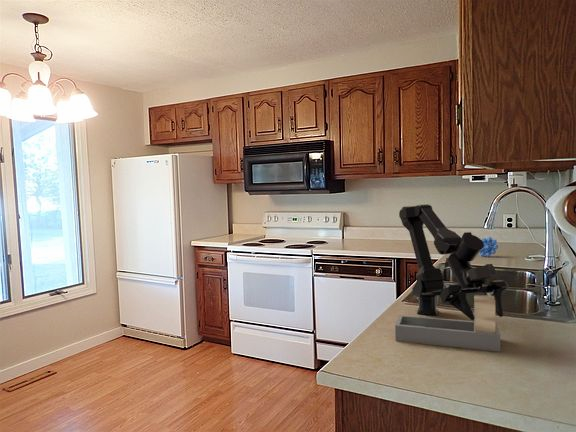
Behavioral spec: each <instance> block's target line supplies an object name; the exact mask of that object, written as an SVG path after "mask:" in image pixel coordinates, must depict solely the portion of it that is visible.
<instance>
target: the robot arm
mask: <svg viewBox="0 0 576 432" xmlns="http://www.w3.org/2000/svg"><path fill="white" fill-rule="evenodd" d="M398 213H399V214H398V215H399V219H400V221H401V224H402V226H403V227H405V229H406V230H407V231H408V232H409V236H410V240H411V243H412V248H413V251H414V256H415V259H416V264H417V267H418V271H417V273H416V276H415V277H416V278H415V279H416V282H415V283H414V285H413V286H412V288H411V289H412V290H411V291H412V295H414V296H415V297H418V307H417V311H416V314H418V315H426V316H427V315H430V316H438V310H439V309H438V308H437V296H439V298H440V300H441V302H442V303H444V304H445V303H448V305H451V306H453V307H454V308H455V309H457V310H458V311H460V312H461V313H463V314H464V315H465V316H466V317H467V318H468V319H470V321H474V319H475V317H474V311H473V310H472V308H471V306H470V305H469V303H468V301H467V300H468V299H467V296H468V295H469V296H470V295H482V294H484V295H488V296H494V298H495V314H497V315H498V317H499V318H502V317H503V316H504V313H503V312H504V311H503V306H502V305H503V304H502V295H503V294H504V293H505V292H506V291H507V290H508V289H509V285H508V283H507V282H506V281H505V280H502V279H500V280H499V279H496V280H491V281H490V282H489V283H488V284H487V285H485V284H486V282H487V281H486V280H487V279H492V278H493V276H495V275H496V274H497V270H496V268H495V266H494V265H493V263H486V264H484V265H483V266H477V267H473V266H472V264H471V262H473V261H474V260H475V259H476V258H477V256H478V255H480V251H481V250H482V249H483V247H484V243H483V241H482V239H481V238H480V237H478V236H476V235H473V234H472V232H471V231H468V232H463V234H462V235H461V236H460V235H459V234H458V233H456V232H455V231H453V230H451V229H449V228H447V226H446V225H445V224H444V223H443V222H442V220H441V219H440V217H439V216H438V215H437V214H436V212H434V210H433V207H432V205H431V204H418V205H412V206H409V205H408V206H403V207H401V208H400V210H399V212H398ZM424 226H425V227H426V228H427V230H428V231H429V233H430V234H431V236H432V237H433V239H434V241H433V245H434V247H435V249H436V250H437V252H438V254H440V255H442V256H443V255H449V256H448V257H446V258H445V262H444V267H449V268H450V270H451V272H452V274H453V279H452V280H453V282H454V284H453V283H452V284H446V285H445V282H444V280H445V279H444V277H443V274H442V270H441V268H437V267H435V266H434V264H433V260H432V256H431V253H430V249H429V246H428V242H427V239H426V234H425V232H424ZM483 284H484V285H483Z"/></svg>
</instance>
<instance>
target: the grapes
mask: <svg viewBox="0 0 576 432" xmlns="http://www.w3.org/2000/svg"><path fill="white" fill-rule="evenodd" d="M481 240H482V241H483V243H484V247H483V249H482V250H481V251H480V252H479V255H480V257H484V256H485V257H486V256H489V257H491V255H495V254H496V253H497V250H498V249H499V244H497V243H498V241H497V239H493V237H491V236H490V237H489V236H488V237H487V238H486V237H484V238H482V239H481Z"/></svg>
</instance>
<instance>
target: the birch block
mask: <svg viewBox="0 0 576 432" xmlns="http://www.w3.org/2000/svg"><path fill="white" fill-rule="evenodd" d="M473 314H474V317H475V319H474V320H473V321H474V332H485V333H495V323H496V312H495V298H494V296H488V295H485V294H473Z"/></svg>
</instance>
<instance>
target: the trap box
mask: <svg viewBox="0 0 576 432" xmlns="http://www.w3.org/2000/svg"><path fill="white" fill-rule="evenodd" d="M394 327H395V331H394V333H395V341H396V342H405V343H415V344H424V345H432V346H433V345H434V346H442V347H449V348H450V347H452V348H461V349H471V350H479V351H480V350H481V351H490V352H499V353H500V352H501V333H500V329H499V326H498V323H497V322H495V333H485V332H474V320H463V319H452V318H451V319H449V318H442V317H441V318H439V317H427V316H416V315H415V316H414V315H402V314H400V315H398V318H397V321H396V322H395V326H394Z"/></svg>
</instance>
